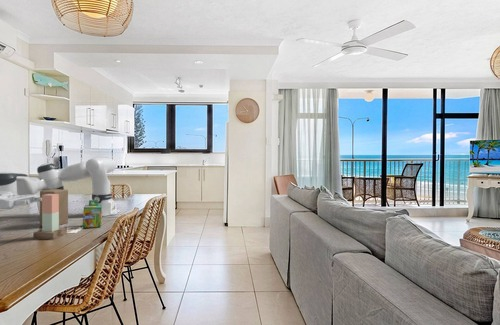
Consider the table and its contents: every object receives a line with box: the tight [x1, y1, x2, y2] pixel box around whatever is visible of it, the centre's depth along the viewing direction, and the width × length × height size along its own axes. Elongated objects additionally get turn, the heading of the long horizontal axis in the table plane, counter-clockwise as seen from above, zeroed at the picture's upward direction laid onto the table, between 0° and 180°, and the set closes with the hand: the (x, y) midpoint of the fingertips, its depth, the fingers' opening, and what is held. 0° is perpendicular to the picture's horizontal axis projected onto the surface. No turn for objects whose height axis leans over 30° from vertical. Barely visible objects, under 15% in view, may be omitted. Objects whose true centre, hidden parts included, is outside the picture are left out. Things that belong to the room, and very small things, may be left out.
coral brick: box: [42, 194, 59, 214], centre depth 150 cm, size 5×5×9 cm
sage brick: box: [41, 212, 60, 232], centre depth 150 cm, size 5×5×9 cm
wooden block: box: [39, 189, 69, 227], centre depth 175 cm, size 10×10×20 cm
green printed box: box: [82, 199, 103, 229], centre depth 172 cm, size 9×9×15 cm
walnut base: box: [32, 227, 68, 240], centre depth 150 cm, size 10×10×3 cm
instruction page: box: [66, 226, 84, 234], centre depth 162 cm, size 12×9×1 cm
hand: (33, 201), depth 150 cm, fingers open, 8 cm apart
